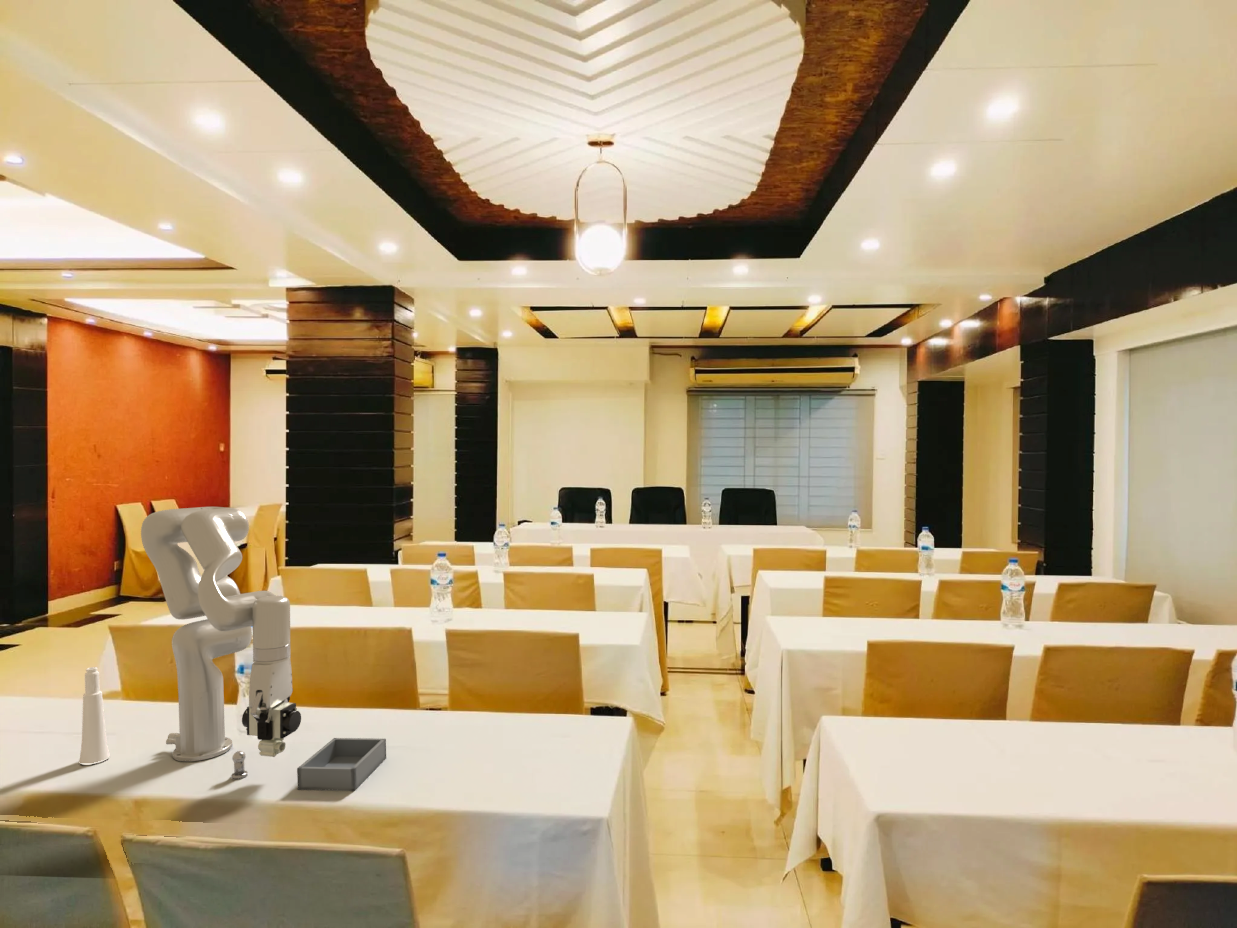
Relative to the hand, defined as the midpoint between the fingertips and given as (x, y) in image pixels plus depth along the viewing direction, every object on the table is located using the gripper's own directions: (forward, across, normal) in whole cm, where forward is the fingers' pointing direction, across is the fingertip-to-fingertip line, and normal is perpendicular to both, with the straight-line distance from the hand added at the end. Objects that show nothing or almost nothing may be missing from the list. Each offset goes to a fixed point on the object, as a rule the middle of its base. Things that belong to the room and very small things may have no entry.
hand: (272, 732), depth 163 cm
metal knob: (+10, 0, -8) cm, 12 cm away
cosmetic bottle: (+11, -7, -48) cm, 50 cm away
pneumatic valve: (+5, 0, 0) cm, 5 cm away
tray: (+9, -2, +15) cm, 18 cm away
